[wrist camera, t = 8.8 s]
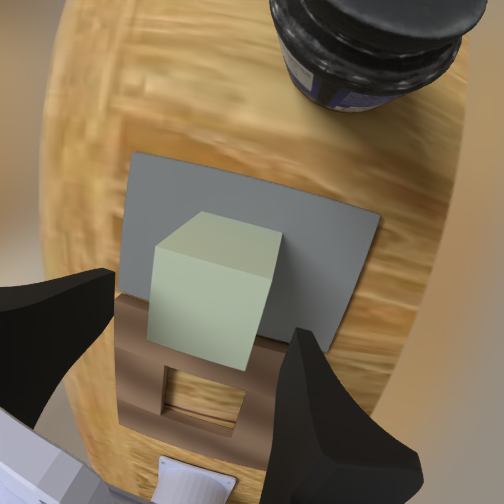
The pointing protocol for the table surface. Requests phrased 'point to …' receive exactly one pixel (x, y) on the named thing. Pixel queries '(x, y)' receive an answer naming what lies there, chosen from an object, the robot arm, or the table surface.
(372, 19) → the pill bottle
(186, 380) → the table surface
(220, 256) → the sage block
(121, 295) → the pocket board
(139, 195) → the mat
